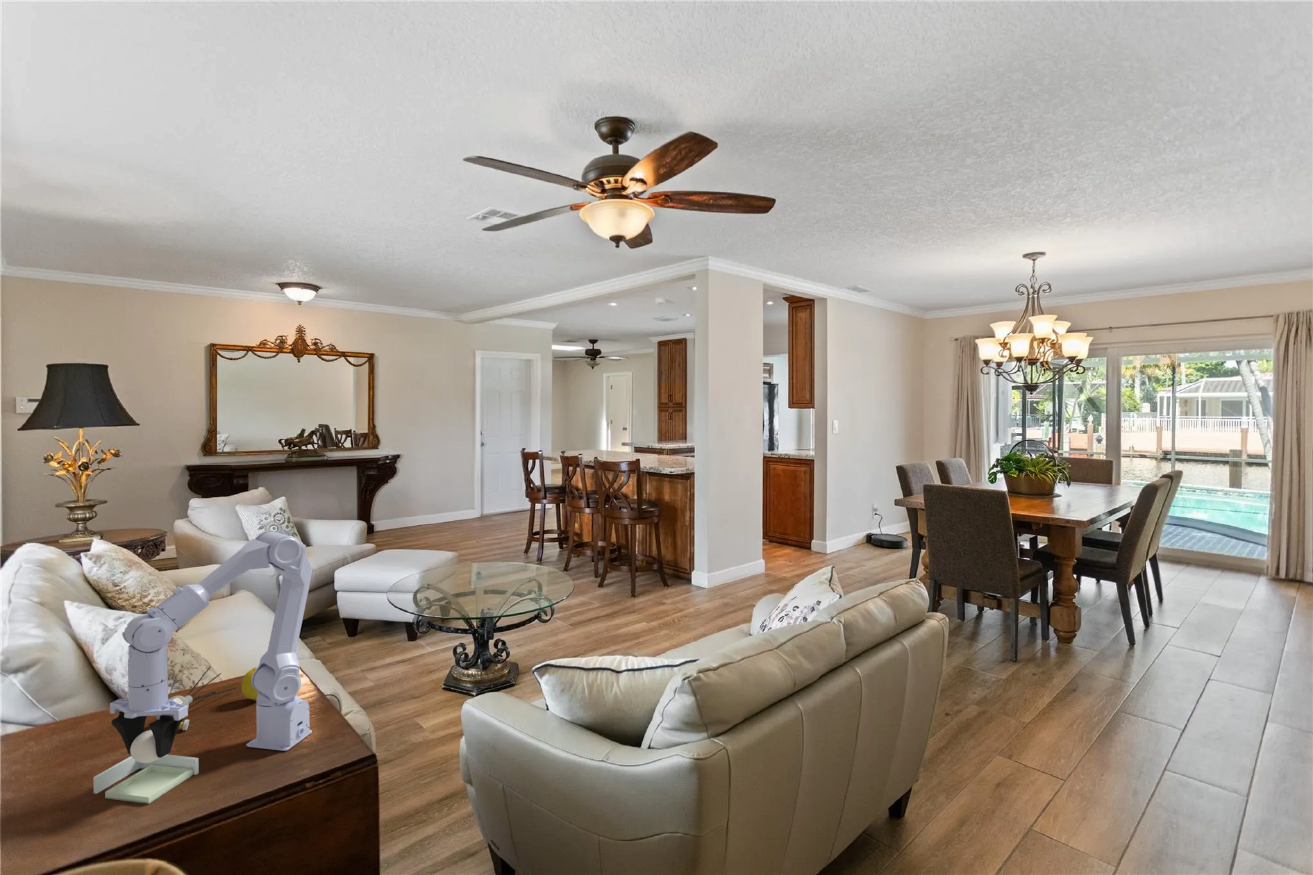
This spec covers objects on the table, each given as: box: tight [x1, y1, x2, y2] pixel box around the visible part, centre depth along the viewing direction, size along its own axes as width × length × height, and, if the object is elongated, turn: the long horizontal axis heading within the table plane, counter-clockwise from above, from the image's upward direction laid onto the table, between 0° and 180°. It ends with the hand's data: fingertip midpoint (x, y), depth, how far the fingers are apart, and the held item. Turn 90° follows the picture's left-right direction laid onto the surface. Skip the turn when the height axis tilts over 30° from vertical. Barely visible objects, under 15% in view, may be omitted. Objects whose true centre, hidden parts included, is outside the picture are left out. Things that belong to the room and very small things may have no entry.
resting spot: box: [104, 764, 194, 805], centre depth 119 cm, size 9×9×1 cm
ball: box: [130, 729, 158, 763], centre depth 118 cm, size 6×6×6 cm
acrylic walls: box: [92, 753, 200, 794], centre depth 120 cm, size 13×9×3 cm
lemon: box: [241, 667, 258, 702], centre depth 153 cm, size 6×6×8 cm
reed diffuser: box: [155, 666, 238, 731], centre depth 148 cm, size 10×7×20 cm
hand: (149, 753), depth 118 cm, fingers closed on ball, 6 cm apart
